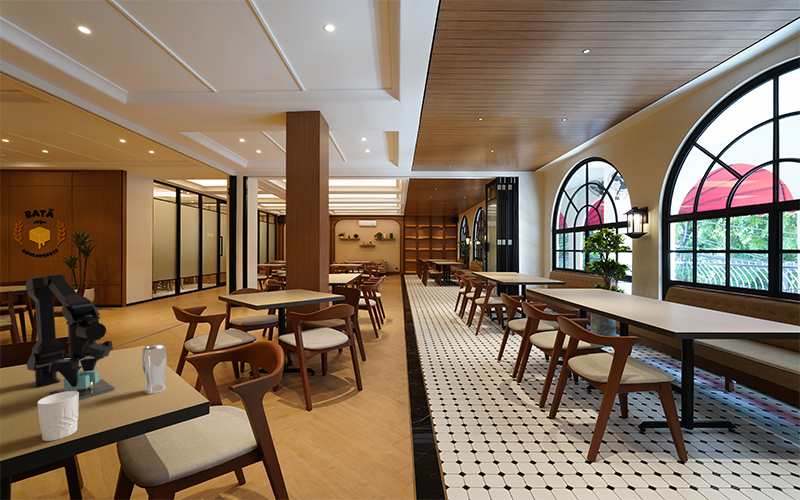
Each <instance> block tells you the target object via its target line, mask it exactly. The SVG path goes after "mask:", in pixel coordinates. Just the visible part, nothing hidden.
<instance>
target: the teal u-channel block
mask: <svg viewBox="0 0 800 500" xmlns="http://www.w3.org/2000/svg"><path fill="white" fill-rule="evenodd" d="M99 380H100V376H99V369H96V370H95V369H94V371H83V370H82V371H80V370H79V371H78V378H77V386H76V387H72V386H71V385H70V384H69V382H68V381H67V380H66V379H65V377H63V389H64V390H75V389H86V388H88V387H90V381H93V384H94V383H97V382H99Z"/></svg>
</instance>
